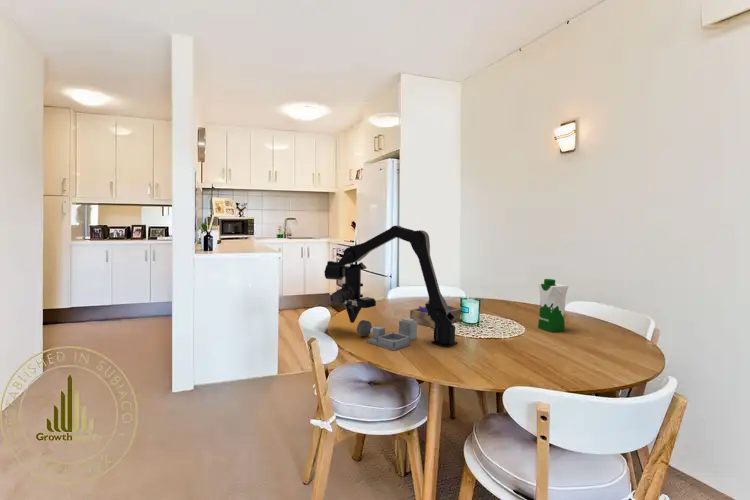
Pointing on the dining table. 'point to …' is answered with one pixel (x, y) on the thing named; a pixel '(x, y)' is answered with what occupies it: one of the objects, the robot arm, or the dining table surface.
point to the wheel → (364, 328)
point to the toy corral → (425, 319)
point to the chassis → (388, 339)
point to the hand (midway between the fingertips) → (352, 322)
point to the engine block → (408, 328)
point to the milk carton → (552, 306)
